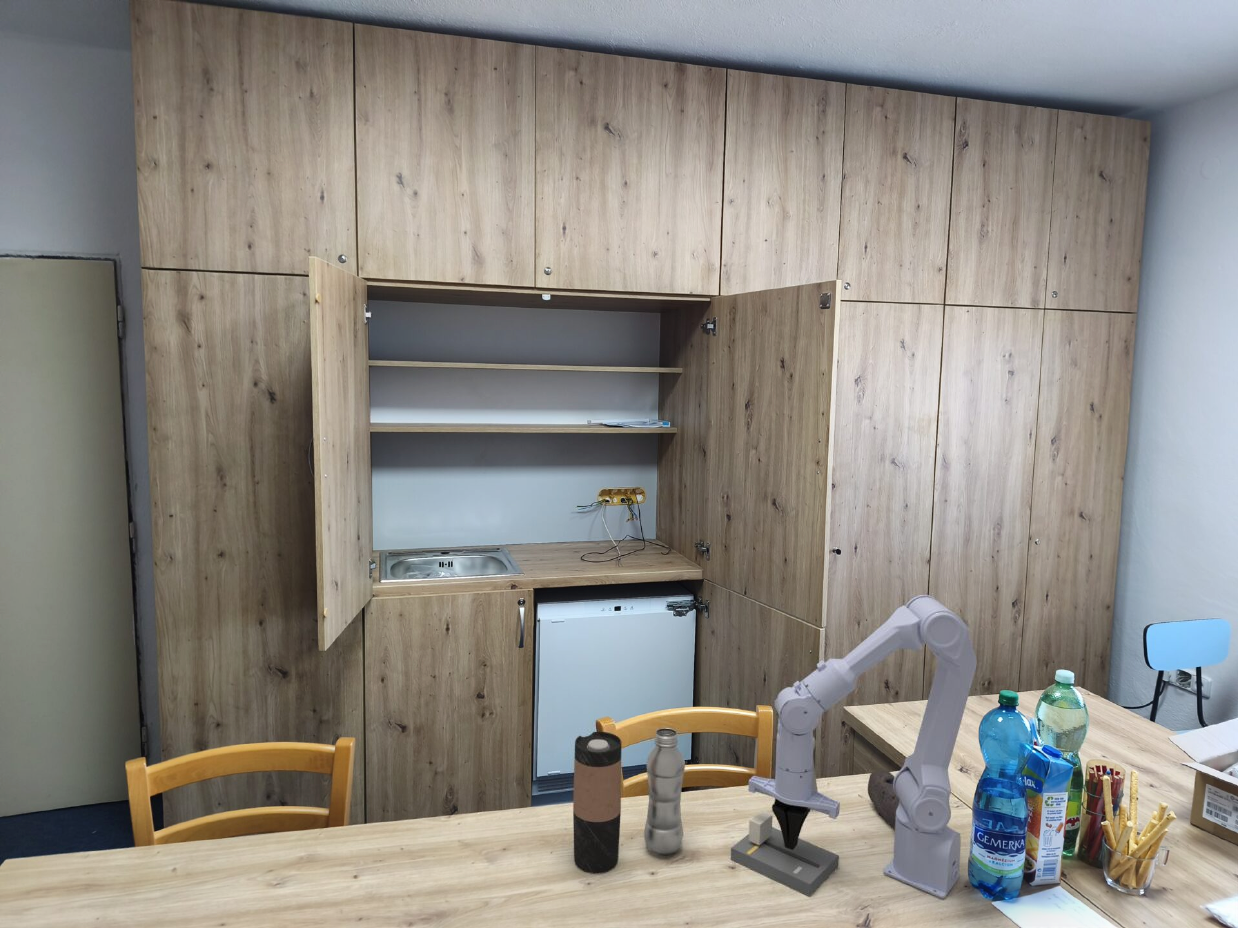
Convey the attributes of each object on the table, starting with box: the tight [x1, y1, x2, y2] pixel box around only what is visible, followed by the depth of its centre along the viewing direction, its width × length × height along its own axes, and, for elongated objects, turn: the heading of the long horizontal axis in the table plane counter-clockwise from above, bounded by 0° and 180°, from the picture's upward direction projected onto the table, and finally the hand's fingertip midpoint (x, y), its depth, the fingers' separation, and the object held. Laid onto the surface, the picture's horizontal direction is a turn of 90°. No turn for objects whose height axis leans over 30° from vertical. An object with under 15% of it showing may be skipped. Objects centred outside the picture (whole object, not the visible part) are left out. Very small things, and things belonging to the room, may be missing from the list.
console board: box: [730, 826, 840, 898], centre depth 126 cm, size 14×10×2 cm
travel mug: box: [572, 731, 623, 874], centre depth 125 cm, size 8×8×20 cm
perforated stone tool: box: [867, 769, 900, 829], centre depth 138 cm, size 15×5×7 cm, turn 6°
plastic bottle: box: [643, 727, 686, 856], centre depth 129 cm, size 6×7×20 cm
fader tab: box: [748, 810, 773, 845], centre depth 129 cm, size 2×4×4 cm, turn 139°
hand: (791, 845), depth 125 cm, fingers closed
